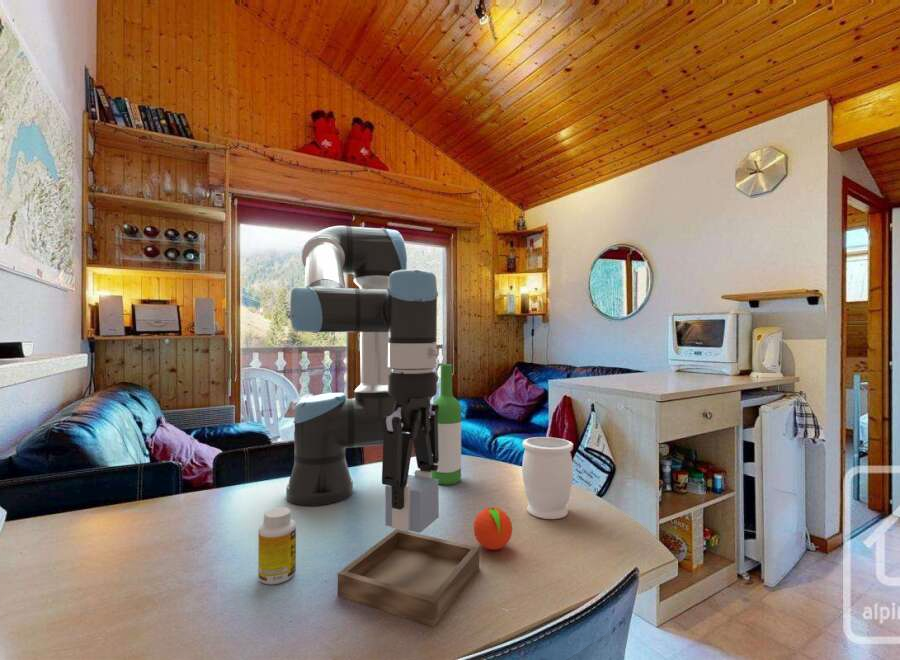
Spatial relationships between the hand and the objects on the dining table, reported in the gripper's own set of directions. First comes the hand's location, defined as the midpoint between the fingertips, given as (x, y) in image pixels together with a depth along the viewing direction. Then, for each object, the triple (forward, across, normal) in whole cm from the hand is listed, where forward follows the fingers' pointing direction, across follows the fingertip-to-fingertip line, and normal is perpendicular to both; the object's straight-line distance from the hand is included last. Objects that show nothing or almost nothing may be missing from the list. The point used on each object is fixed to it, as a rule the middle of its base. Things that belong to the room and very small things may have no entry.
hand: (412, 519), depth 69 cm
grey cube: (0, 0, 0) cm, 0 cm away
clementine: (+10, +15, -8) cm, 20 cm away
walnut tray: (+10, 0, 0) cm, 10 cm away
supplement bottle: (+10, -8, +20) cm, 24 cm away
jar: (+10, +35, -13) cm, 39 cm away
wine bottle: (+10, +43, +15) cm, 47 cm away
